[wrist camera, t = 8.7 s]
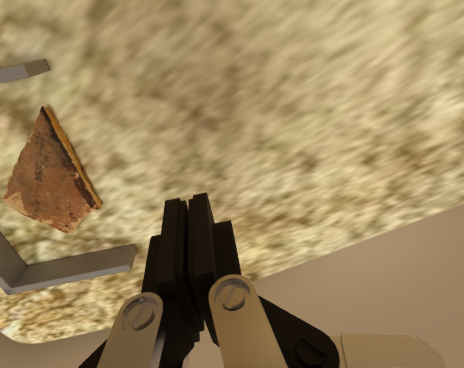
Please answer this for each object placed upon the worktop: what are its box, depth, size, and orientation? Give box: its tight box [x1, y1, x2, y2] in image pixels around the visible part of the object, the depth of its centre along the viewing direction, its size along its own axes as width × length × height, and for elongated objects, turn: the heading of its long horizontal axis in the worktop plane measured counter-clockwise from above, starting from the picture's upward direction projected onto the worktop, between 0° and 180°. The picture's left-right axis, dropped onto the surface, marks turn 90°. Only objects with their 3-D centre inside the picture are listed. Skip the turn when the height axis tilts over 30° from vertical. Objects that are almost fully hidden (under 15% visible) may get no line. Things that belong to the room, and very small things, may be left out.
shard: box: [3, 106, 102, 233], centre depth 25 cm, size 11×8×2 cm
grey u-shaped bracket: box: [0, 59, 137, 295], centre depth 25 cm, size 20×13×3 cm, turn 10°
